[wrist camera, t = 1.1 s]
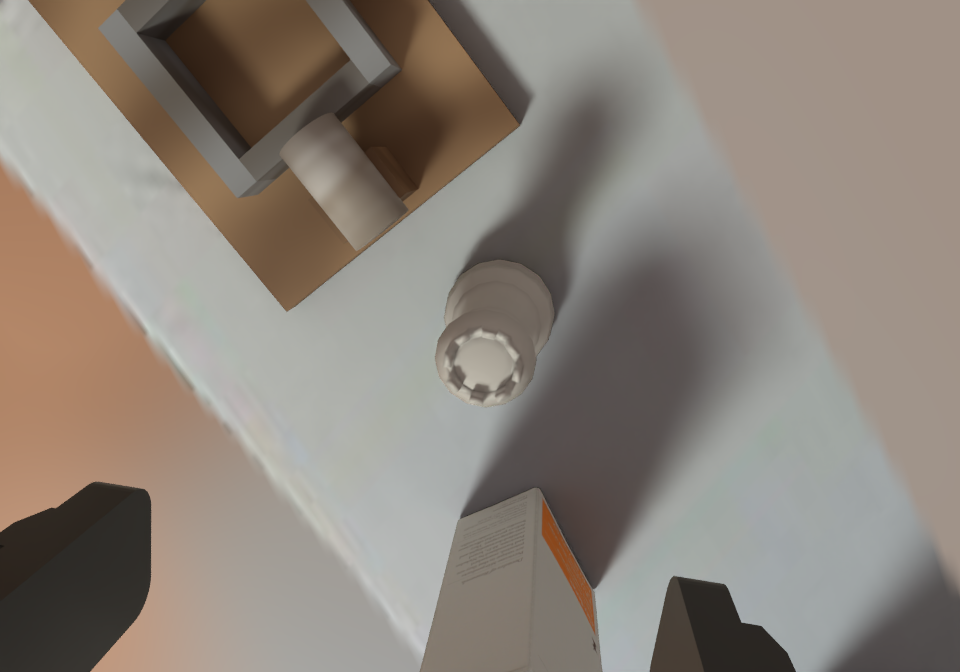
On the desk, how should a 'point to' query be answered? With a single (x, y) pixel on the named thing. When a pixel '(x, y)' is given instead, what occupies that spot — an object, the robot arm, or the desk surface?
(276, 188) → the frame on base plate
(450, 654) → the skincare box
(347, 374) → the desk surface
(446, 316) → the rook chess piece
